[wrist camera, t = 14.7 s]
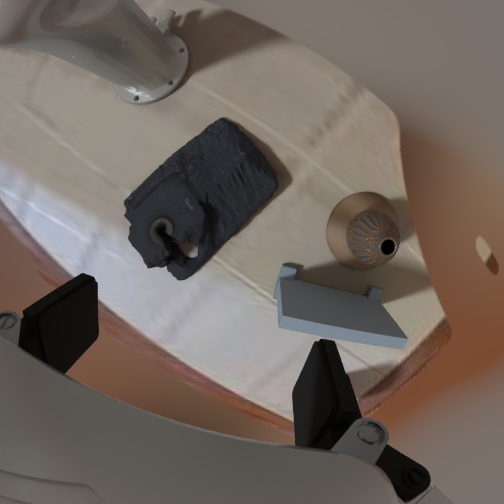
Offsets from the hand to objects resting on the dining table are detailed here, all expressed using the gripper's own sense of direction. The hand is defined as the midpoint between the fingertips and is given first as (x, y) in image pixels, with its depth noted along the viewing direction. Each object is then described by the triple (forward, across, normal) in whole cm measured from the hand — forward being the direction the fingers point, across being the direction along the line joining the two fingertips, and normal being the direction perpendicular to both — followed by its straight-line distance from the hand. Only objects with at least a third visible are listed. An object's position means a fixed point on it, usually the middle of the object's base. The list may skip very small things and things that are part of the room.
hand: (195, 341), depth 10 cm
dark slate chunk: (+29, +8, -1) cm, 30 cm away
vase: (+28, -16, -3) cm, 32 cm away
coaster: (+28, -16, -3) cm, 33 cm away
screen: (+28, -14, +7) cm, 32 cm away
